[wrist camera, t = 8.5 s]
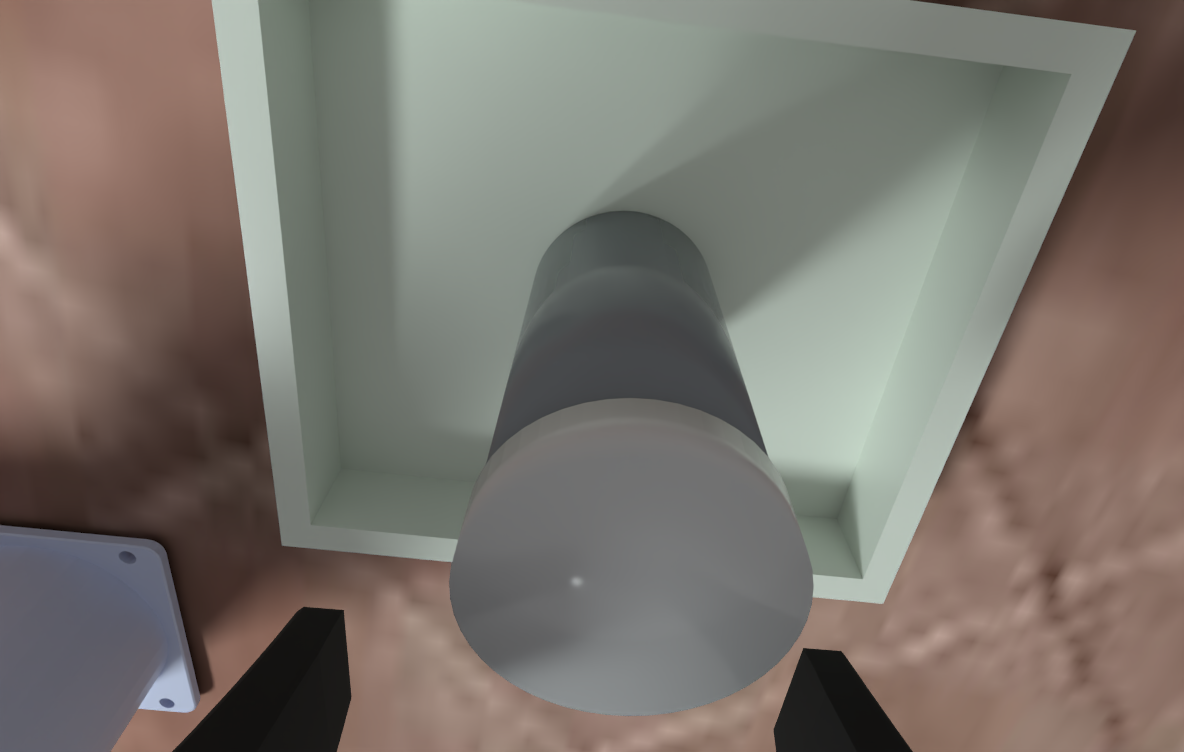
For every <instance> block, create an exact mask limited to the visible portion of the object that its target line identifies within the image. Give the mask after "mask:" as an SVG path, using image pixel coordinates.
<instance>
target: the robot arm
mask: <svg viewBox="0 0 1184 752" xmlns="http://www.w3.org/2000/svg"><path fill="white" fill-rule="evenodd" d="M199 701H200V694H199V689H198V685H197V681H196V677H195V672H194V668H193V664H192V660H191V655H190V651H189V647H188V643H187V638H186V634H185V630H184V626H183V621H182V617H181V613H180V609H179V604H178V600H177V596H176V592H175V587H174V583H173V579H172V575H171V570H170V566H169V562H168V558H167V553H166V551H165V549H164V547H163V546H162V545H161V544H159V543H158V542H156V541H153V540H149V539H139V538H129V537H118V536H108V535H98V534H87V533H77V532H67V531H56V530H46V529H35V528H25V527H15V526H4V525H0V752H111V750H112V748H113V747H114V745H115V744H116V742H117V741H118V739H119V737H120V736H121V734H122V733H123V731H124V730H125V728H126V727H127V725H128V723H129V722H130V720H131V719H132V717H133V716H134V714H135V712H136V711H137V709H149V710H161V711H173V712H190V711H193V710H194V709H195V708H196V707H197V705H198V703H199ZM350 701H351V688H350V676H349V665H348V654H347V643H346V631H345V620H344V610H335V609H322V608H310V607H303V608H302V609H300V610H299V611H297V612H296V613H295V615H294V616H293V617H292V618H291V620H290V621H289V622H288V623H287V624H286V626H285V627H284V628H283V629H282V631H281V632H280V633H279V634H278V635H277V637H276V638H275V639H274V640H273V641H272V643H271V644H270V645H269V646H268V647H267V648H266V650H265V651H264V652H263V653H262V654H261V655H260V657H259V658H258V659H257V660H256V661H255V662H254V664H253V665H252V666H251V667H250V668H249V669H248V670H247V672H246V673H245V674H244V675H243V676H242V677H241V678H240V680H239V681H238V682H237V683H236V684H235V685H234V686H233V687H232V689H231V690H230V691H229V692H228V693H227V694H226V695H225V696H224V697H223V698H222V699H221V700H220V702H219V703H218V704H217V705H216V706H215V707H214V708H213V709H212V710H211V711H210V712H209V713H208V715H207V716H206V717H205V718H204V719H203V720H202V721H201V722H200V723H199V724H198V725H197V726H196V728H195V729H194V730H193V731H192V732H191V733H190V734H189V735H188V736H187V737H186V738H185V739H184V740H183V741H182V742H181V743H180V744H179V745H178V746H177V747H176V748H175V749H174V750H173V751H172V752H337V748H338V745H339V741H340V738H341V734H342V731H343V727H344V723H345V719H346V716H347V712H348V708H349V704H350ZM774 737H775V745H776V752H913V751H912V750H911V749H910V747H909V746H908V745H907V743H906V742H905V740H904V739H903V738H902V736H901V735H900V733H899V732H898V731H897V729H896V728H895V726H894V725H893V724H892V722H891V721H890V719H889V718H888V717H887V715H886V714H885V712H884V711H883V709H882V708H881V707H880V705H879V704H878V702H877V701H876V700H875V698H874V697H873V695H872V694H871V692H870V691H869V689H868V688H867V687H866V685H865V684H864V682H863V681H862V679H861V678H860V677H859V675H858V674H857V672H856V671H855V669H854V668H853V666H852V665H851V664H850V662H849V661H848V659H847V658H846V657H845V655H844V654H843V653H842V652H841V651H831V650H819V649H807V648H803V651H802V654H801V656H800V659H799V662H798V664H797V667H796V670H795V673H794V675H793V678H792V681H791V684H790V686H789V689H788V692H787V695H786V697H785V700H784V703H783V706H782V708H781V711H780V714H779V717H778V719H777V722H776V725H775V728H774Z"/></svg>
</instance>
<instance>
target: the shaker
mask: <svg viewBox="0 0 1184 752" xmlns="http://www.w3.org/2000/svg"><path fill="white" fill-rule="evenodd" d="M449 585H450V600H451V604H452V608H453V612H454V616H455V618H456V621H457V623H458V625H459V628H460V630H461V632H462V633H463V635H464V637H465V638H466V640H467V641H468V643H469V645H470V646H471V647H472V649H473V650H474V651H475V652H476V653H477V654H478V656H479V657H480V658H481V659H482V660H483V661H484V662H485V663H486V664H487V665H488V666H489V667H490V668H492V669H493V670H494V671H495V672H496V673H498V674H499V675H500V676H502V677H503V678H504V679H506V680H507V681H509V682H510V683H512V684H513V685H515V686H517V687H519V688H520V689H522V690H524V691H526V692H528V693H530V694H532V695H534V696H537V697H539V698H541V699H543V700H546V701H549V702H552V703H555V704H558V705H561V706H564V707H567V708H572V709H576V710H580V711H585V712H591V713H598V714H605V715H620V716H646V715H657V714H666V713H673V712H678V711H683V710H688V709H692V708H695V707H699V706H702V705H706V704H709V703H712V702H714V701H717V700H719V699H722V698H725V697H727V696H729V695H731V694H733V693H735V692H737V691H739V690H741V689H743V688H745V687H747V686H748V685H750V684H751V683H753V682H754V681H756V680H757V679H759V678H760V677H762V676H763V675H764V674H766V673H767V672H768V671H769V670H770V669H772V668H773V667H774V666H775V665H776V664H777V663H778V662H779V661H780V660H781V659H782V658H783V657H784V656H785V655H786V654H787V653H788V651H789V650H790V649H791V647H792V646H793V644H794V643H795V642H796V640H797V639H798V637H799V636H800V634H801V632H802V630H803V627H804V625H805V623H806V621H807V618H808V615H809V612H810V608H811V605H812V598H813V588H814V584H813V571H812V566H811V562H810V558H809V555H808V551H807V548H806V545H805V542H804V539H803V536H802V533H801V530H800V527H799V524H798V521H797V518H796V515H795V512H794V509H793V506H792V504H791V501H790V498H789V495H788V492H787V489H786V487H785V484H784V482H783V480H782V478H781V476H780V474H779V472H778V470H777V469H776V467H775V466H774V465H773V463H772V462H771V460H770V459H769V457H768V454H767V451H766V448H765V445H764V442H763V439H762V435H761V432H760V429H759V426H758V423H757V420H756V417H755V414H754V411H753V407H752V404H751V401H750V398H749V395H748V392H747V389H746V386H745V382H744V379H743V376H742V373H741V370H740V367H739V364H738V361H737V358H736V354H735V351H734V348H733V345H732V342H731V339H730V336H729V333H728V330H727V326H726V323H725V320H724V317H723V314H722V311H721V308H720V305H719V301H718V298H717V295H716V292H715V289H714V286H713V283H712V280H711V277H710V273H709V270H708V267H707V265H706V263H705V260H704V258H703V256H702V254H701V253H700V251H699V250H698V248H697V246H696V245H695V244H694V243H693V242H692V241H691V239H690V238H689V237H688V236H687V235H685V234H684V233H683V232H682V231H681V230H680V229H678V228H677V227H675V226H674V225H672V224H671V223H669V222H667V221H665V220H663V219H661V218H659V217H656V216H653V215H650V214H646V213H641V212H636V211H611V212H606V213H601V214H597V215H594V216H591V217H588V218H585V219H583V220H581V221H579V222H577V223H575V224H574V225H572V226H571V227H569V228H568V229H566V230H565V231H564V232H563V233H562V234H560V235H559V236H558V237H557V238H556V239H555V240H554V241H553V243H552V244H551V245H550V246H549V247H548V249H547V250H546V252H545V254H544V255H543V257H542V259H541V261H540V263H539V265H538V268H537V271H536V274H535V278H534V282H533V286H532V289H531V293H530V297H529V301H528V305H527V309H526V312H525V316H524V320H523V324H522V328H521V332H520V335H519V339H518V343H517V347H516V351H515V355H514V358H513V362H512V366H511V370H510V374H509V378H508V381H507V385H506V389H505V393H504V397H503V401H502V404H501V408H500V412H499V416H498V420H497V424H496V428H495V431H494V435H493V439H492V443H491V447H490V451H489V454H488V458H487V462H486V465H485V466H484V467H483V469H482V470H481V472H480V474H479V476H478V478H477V480H476V482H475V484H474V486H473V489H472V493H471V496H470V499H469V502H468V506H467V510H466V513H465V517H464V521H463V524H462V528H461V531H460V535H459V539H458V542H457V546H456V550H455V553H454V557H453V561H452V564H451V572H450V580H449Z"/></svg>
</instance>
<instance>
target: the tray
mask: <svg viewBox="0 0 1184 752" xmlns="http://www.w3.org/2000/svg"><path fill="white" fill-rule="evenodd" d="M212 6H213V13H214V21H215V29H216V37H217V45H218V52H219V60H220V68H221V76H222V84H223V91H224V99H225V107H226V115H227V122H228V130H229V138H230V146H231V154H232V161H233V169H234V177H235V185H236V192H237V200H238V208H239V216H240V224H241V231H242V239H243V247H244V255H245V262H246V270H247V278H248V286H249V294H250V301H251V309H252V317H253V325H254V332H255V340H256V348H257V356H258V364H259V371H260V379H261V387H262V395H263V403H264V410H265V418H266V426H267V434H268V441H269V449H270V457H271V465H272V473H273V480H274V488H275V496H276V504H277V511H278V519H279V527H280V535H281V543H282V546H291V547H301V548H311V549H322V550H332V551H342V552H353V553H363V554H373V555H384V556H394V557H404V558H415V559H425V560H435V561H446V562H452V561H453V557H454V553H455V550H456V546H457V542H458V539H459V535H460V531H461V528H462V524H463V521H464V517H465V513H466V510H467V506H468V502H469V499H470V496H471V493H472V489H473V486H474V484H475V482H476V480H477V478H478V476H479V474H480V472H481V470H482V469H483V467H484V466H485V465H486V462H487V458H488V454H489V451H490V447H491V443H492V439H493V435H494V431H495V428H496V424H497V420H498V416H499V412H500V408H501V404H502V401H503V397H504V393H505V389H506V385H507V381H508V378H509V374H510V370H511V366H512V362H513V358H514V355H515V351H516V347H517V343H518V339H519V335H520V332H521V328H522V324H523V320H524V316H525V312H526V309H527V305H528V301H529V297H530V293H531V289H532V286H533V282H534V278H535V274H536V271H537V268H538V265H539V263H540V261H541V259H542V257H543V255H544V254H545V252H546V250H547V249H548V247H549V246H550V245H551V244H552V243H553V241H554V240H555V239H556V238H557V237H558V236H559V235H560V234H562V233H563V232H564V231H565V230H566V229H568V228H569V227H571V226H572V225H574V224H575V223H577V222H579V221H581V220H583V219H585V218H588V217H591V216H594V215H597V214H601V213H606V212H611V211H636V212H641V213H646V214H650V215H653V216H656V217H659V218H661V219H663V220H665V221H667V222H669V223H671V224H672V225H674V226H675V227H677V228H678V229H680V230H681V231H682V232H683V233H684V234H685V235H687V236H688V237H689V238H690V239H691V241H692V242H693V243H694V244H695V245H696V246H697V248H698V250H699V251H700V253H701V254H702V256H703V258H704V260H705V263H706V265H707V267H708V270H709V273H710V277H711V280H712V283H713V286H714V289H715V292H716V295H717V298H718V301H719V305H720V308H721V311H722V314H723V317H724V320H725V323H726V326H727V330H728V333H729V336H730V339H731V342H732V345H733V348H734V351H735V354H736V358H737V361H738V364H739V367H740V370H741V373H742V376H743V379H744V382H745V386H746V389H747V392H748V395H749V398H750V401H751V404H752V407H753V411H754V414H755V417H756V420H757V423H758V426H759V429H760V432H761V435H762V439H763V442H764V445H765V448H766V451H767V454H768V457H769V459H770V460H771V462H772V463H773V465H774V466H775V467H776V469H777V470H778V472H779V474H780V476H781V478H782V480H783V482H784V484H785V487H786V489H787V492H788V495H789V498H790V501H791V504H792V506H793V509H794V512H795V515H796V518H797V521H798V524H799V527H800V530H801V533H802V536H803V539H804V542H805V545H806V548H807V551H808V555H809V558H810V562H811V566H812V571H813V584H814V588H813V597H818V598H828V599H839V600H849V601H859V602H870V603H880V604H883V603H884V601H885V598H886V596H887V594H888V592H889V589H890V587H891V585H892V582H893V580H894V578H895V576H896V573H897V571H898V569H899V567H900V564H901V562H902V560H903V558H904V555H905V553H906V551H907V549H908V546H909V544H910V542H911V539H912V537H913V535H914V533H915V530H916V528H917V526H918V524H919V521H920V519H921V517H922V515H923V512H924V510H925V508H926V506H927V503H928V501H929V499H930V496H931V494H932V492H933V490H934V487H935V485H936V483H937V481H938V478H939V476H940V474H941V472H942V469H943V467H944V465H945V463H946V460H947V458H948V456H949V454H950V451H951V449H952V447H953V444H954V442H955V440H956V438H957V435H958V433H959V431H960V429H961V426H962V424H963V422H964V420H965V417H966V415H967V413H968V411H969V408H970V406H971V404H972V401H973V399H974V397H975V395H976V392H977V390H978V388H979V386H980V383H981V381H982V379H983V377H984V374H985V372H986V370H987V368H988V365H989V363H990V361H991V358H992V356H993V354H994V352H995V349H996V347H997V345H998V343H999V340H1000V338H1001V336H1002V334H1003V331H1004V329H1005V327H1006V325H1007V322H1008V320H1009V318H1010V315H1011V313H1012V311H1013V309H1014V306H1015V304H1016V302H1017V300H1018V297H1019V295H1020V293H1021V291H1022V288H1023V286H1024V284H1025V282H1026V279H1027V277H1028V275H1029V272H1030V270H1031V268H1032V266H1033V263H1034V261H1035V259H1036V257H1037V254H1038V252H1039V250H1040V248H1041V245H1042V243H1043V241H1044V239H1045V236H1046V234H1047V232H1048V229H1049V227H1050V225H1051V223H1052V220H1053V218H1054V216H1055V214H1056V211H1057V209H1058V207H1059V205H1060V202H1061V200H1062V198H1063V196H1064V193H1065V191H1066V189H1067V187H1068V184H1069V182H1070V180H1071V177H1072V175H1073V173H1074V171H1075V168H1076V166H1077V164H1078V162H1079V159H1080V157H1081V155H1082V153H1083V150H1084V148H1085V146H1086V144H1087V141H1088V139H1089V137H1090V134H1091V132H1092V130H1093V128H1094V125H1095V123H1096V121H1097V119H1098V116H1099V114H1100V112H1101V110H1102V107H1103V105H1104V103H1105V101H1106V98H1107V96H1108V94H1109V91H1110V89H1111V87H1112V85H1113V82H1114V80H1115V78H1116V76H1117V73H1118V71H1119V69H1120V67H1121V64H1122V62H1123V60H1124V58H1125V55H1126V53H1127V51H1128V48H1129V46H1130V44H1131V42H1132V39H1133V37H1134V35H1135V33H1136V30H1128V29H1121V28H1113V27H1106V26H1098V25H1091V24H1084V23H1076V22H1069V21H1061V20H1054V19H1046V18H1039V17H1032V16H1024V15H1017V14H1009V13H1002V12H994V11H987V10H979V9H972V8H965V7H957V6H950V5H942V4H935V3H927V2H920V1H912V0H212Z"/></svg>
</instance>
